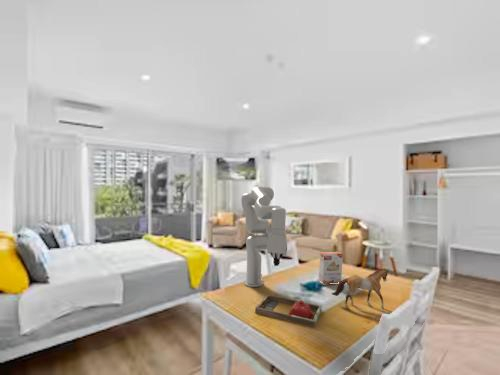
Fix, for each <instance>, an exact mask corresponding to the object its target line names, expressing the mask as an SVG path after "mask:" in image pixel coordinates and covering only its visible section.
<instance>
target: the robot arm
mask: <svg viewBox="0 0 500 375" xmlns="http://www.w3.org/2000/svg"><path fill="white" fill-rule="evenodd" d="M274 198H275V192H274V190H273V188H271V187H269V186H256V187H253V188H252V189H251V191H250V192H248V193H247V192H246V193H244V194H242V195H241V200H240V201H241V202H240V203H241V207H242V209H243V212H244V217H245V218H244V219H245V227H246V232H247V233H248V234H251V235H249V236H248V237H247V238H246V240H245V245H246V276H245V277H246V279H244V281H243V284H244V285H245V286H246V287H250V288H258V287H259V288H260V287H262V286H263V285H264V281H263V280H262V276H263V273H262V255H261V253H260V252H259V251H265V250H266V252H267V254H270V255H271V256H272V258H273V267H274V266H275V267H279V265H280V263H281V262H280V260H281V258H282V257H286V256H287V255H288V238H287V233H286V217H287V216H286V215H287V212H286V211H287V210H286V209H285V208H283V207H281V206H280V205H270V204H271V202H272V201H273V199H274ZM253 206H254V207H253ZM269 220H270V222H269ZM252 234H253V235H252ZM257 234H258V235H257Z"/></svg>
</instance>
